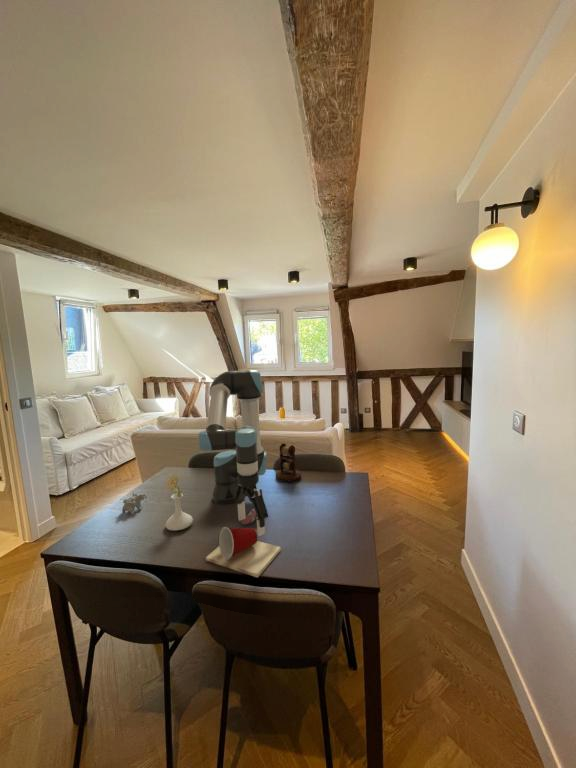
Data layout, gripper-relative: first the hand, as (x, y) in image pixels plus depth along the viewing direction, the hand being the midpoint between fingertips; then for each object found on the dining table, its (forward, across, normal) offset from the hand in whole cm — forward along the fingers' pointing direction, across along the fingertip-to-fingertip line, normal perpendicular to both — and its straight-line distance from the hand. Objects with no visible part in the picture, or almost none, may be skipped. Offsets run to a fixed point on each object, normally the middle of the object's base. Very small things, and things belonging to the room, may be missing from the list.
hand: (251, 526), depth 122 cm
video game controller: (+10, +18, -11) cm, 24 cm away
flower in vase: (+10, +35, +15) cm, 40 cm away
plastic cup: (+5, +1, -2) cm, 5 cm away
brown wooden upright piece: (+11, +44, -51) cm, 68 cm away
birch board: (+9, 0, +4) cm, 10 cm away
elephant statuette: (+10, +66, +26) cm, 71 cm away
